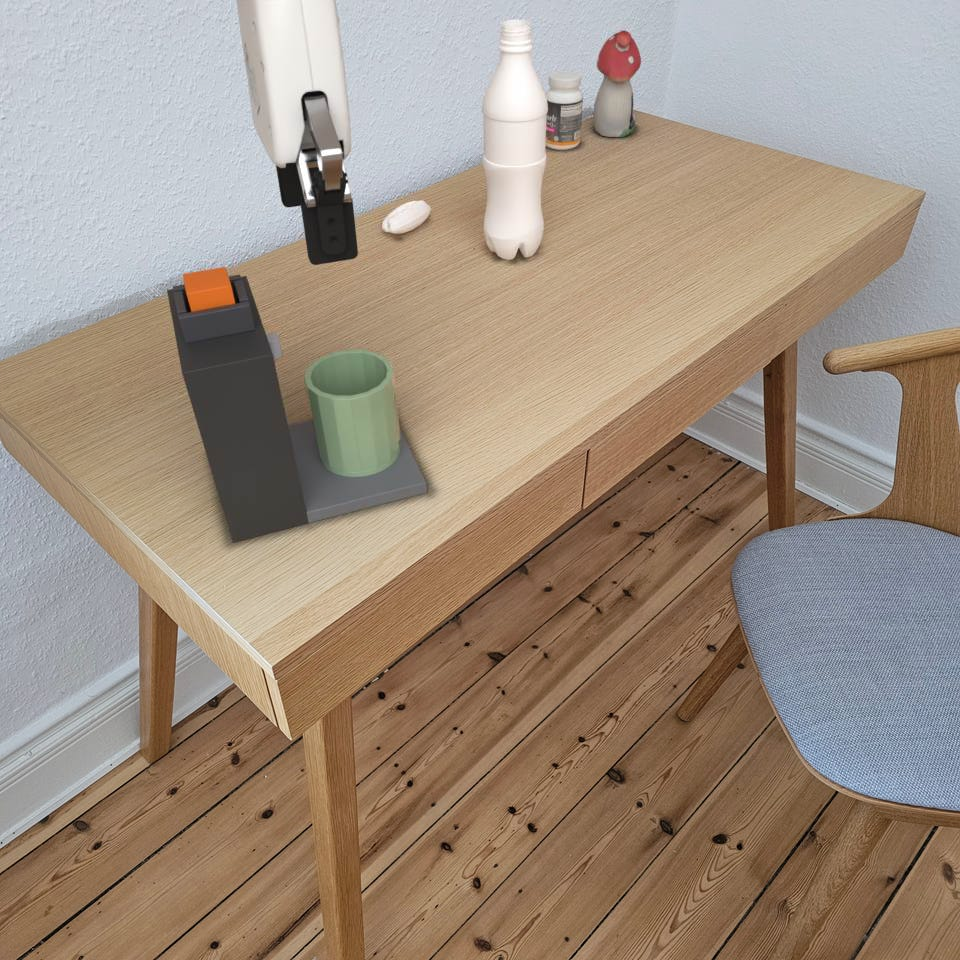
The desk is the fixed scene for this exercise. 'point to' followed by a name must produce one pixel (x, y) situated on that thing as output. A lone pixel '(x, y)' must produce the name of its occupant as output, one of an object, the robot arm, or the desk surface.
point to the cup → (354, 412)
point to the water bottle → (514, 147)
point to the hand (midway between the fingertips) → (318, 230)
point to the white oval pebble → (406, 217)
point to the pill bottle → (564, 110)
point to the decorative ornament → (616, 86)
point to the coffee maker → (264, 426)
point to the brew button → (208, 289)
